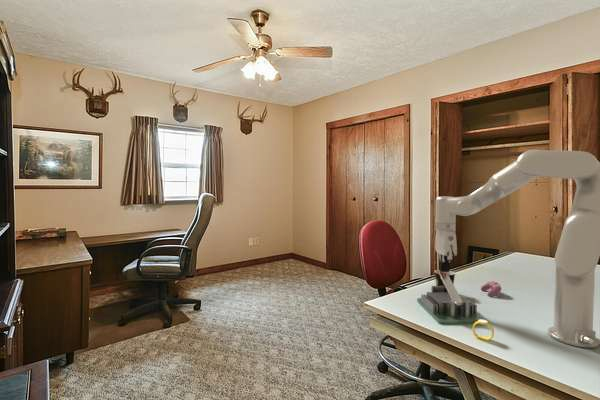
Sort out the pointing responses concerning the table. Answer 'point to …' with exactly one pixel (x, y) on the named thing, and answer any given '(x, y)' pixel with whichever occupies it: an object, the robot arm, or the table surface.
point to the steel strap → (451, 288)
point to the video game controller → (491, 288)
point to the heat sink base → (452, 320)
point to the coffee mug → (439, 280)
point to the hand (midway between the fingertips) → (444, 271)
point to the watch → (483, 324)
